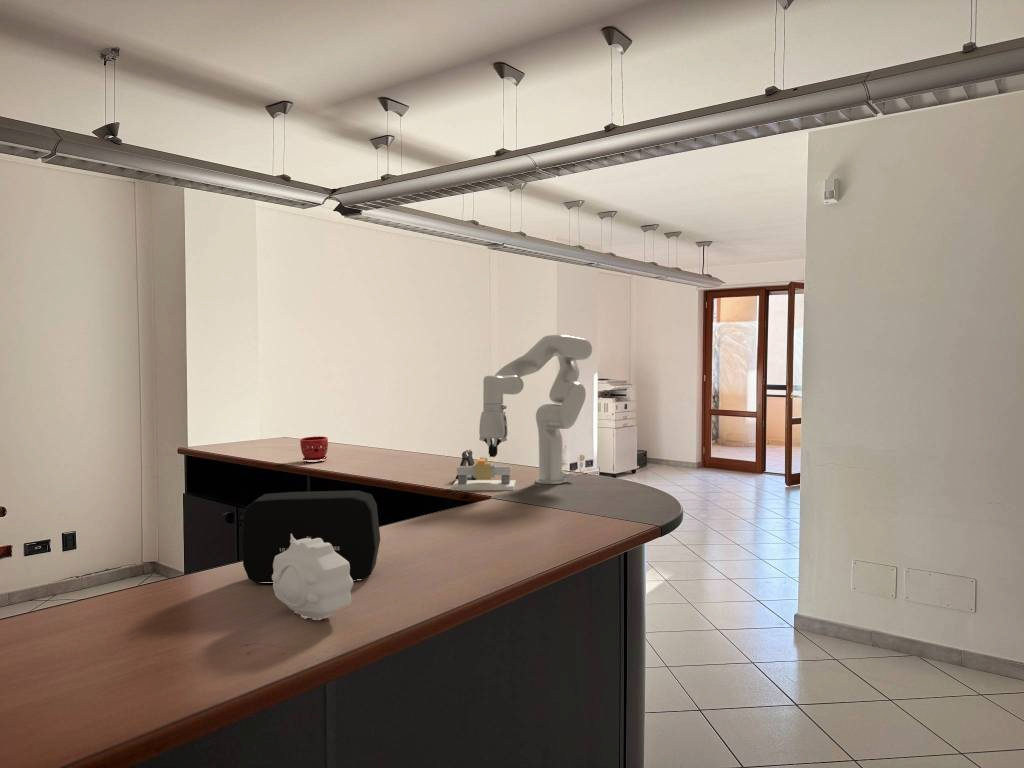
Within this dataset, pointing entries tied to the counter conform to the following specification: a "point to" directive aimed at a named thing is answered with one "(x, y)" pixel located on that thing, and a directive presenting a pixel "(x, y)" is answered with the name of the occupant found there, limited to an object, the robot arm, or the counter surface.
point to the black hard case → (311, 528)
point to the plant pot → (314, 447)
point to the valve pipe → (484, 471)
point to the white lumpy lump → (312, 578)
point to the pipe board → (484, 484)
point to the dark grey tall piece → (467, 459)
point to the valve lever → (481, 461)
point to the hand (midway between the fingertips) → (493, 456)
